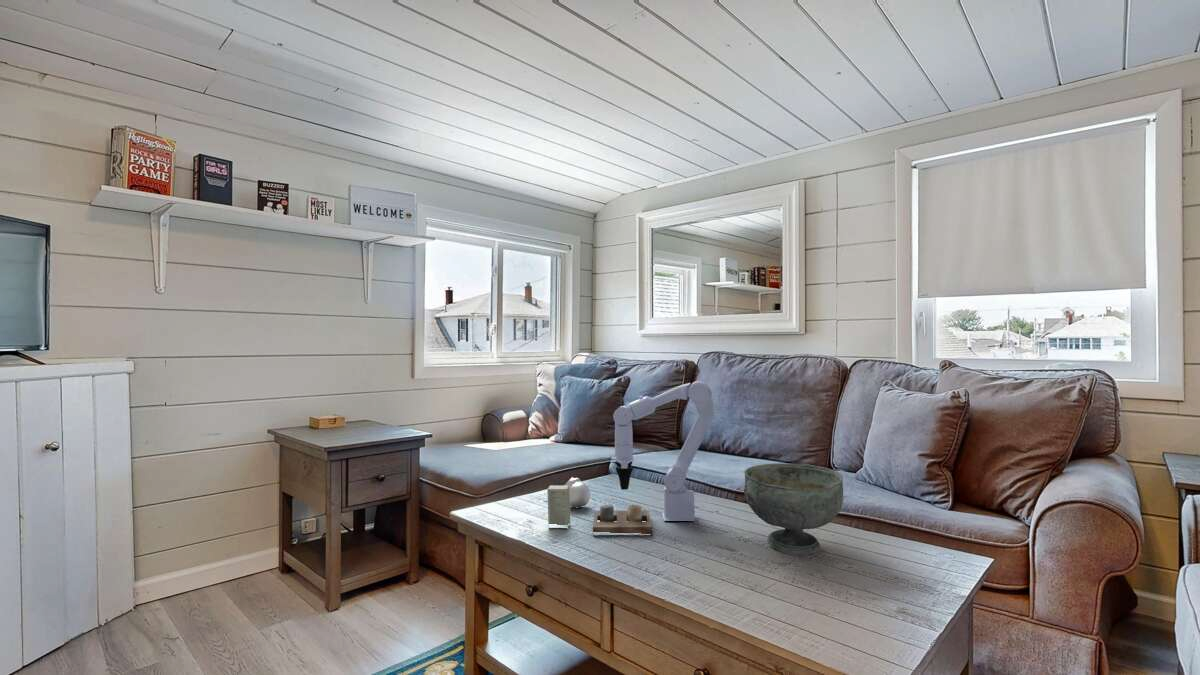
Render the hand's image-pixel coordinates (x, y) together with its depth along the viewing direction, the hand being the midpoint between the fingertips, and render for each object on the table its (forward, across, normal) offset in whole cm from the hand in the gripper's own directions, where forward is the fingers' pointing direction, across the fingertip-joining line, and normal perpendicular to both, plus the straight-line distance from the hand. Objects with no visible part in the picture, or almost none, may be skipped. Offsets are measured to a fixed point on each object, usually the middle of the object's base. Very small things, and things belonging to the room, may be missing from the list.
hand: (624, 486), depth 183 cm
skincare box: (+10, +11, -20) cm, 25 cm away
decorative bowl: (+10, +28, +45) cm, 54 cm away
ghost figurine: (+10, -9, -16) cm, 21 cm away
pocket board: (+9, +11, -1) cm, 15 cm away
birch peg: (+9, +11, +3) cm, 15 cm away
